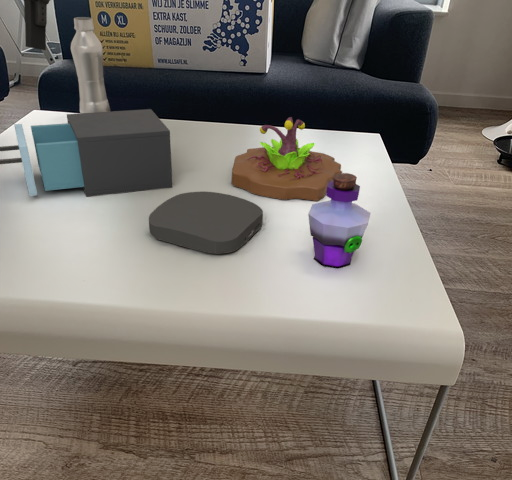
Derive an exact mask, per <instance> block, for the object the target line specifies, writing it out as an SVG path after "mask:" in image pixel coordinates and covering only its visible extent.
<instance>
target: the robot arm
mask: <svg viewBox="0 0 512 480" xmlns="http://www.w3.org/2000/svg"><path fill="white" fill-rule="evenodd" d="M50 1H51V0H23V15H24V16H23V17H24V18H23V19H24V20H23V21H24V31H25V33H24V34H25V35H24V36H25V37H24V38H25V40H24V41H25V48H31V49H35V50H42V51H47V50H46V49H47V42H46V41H47V33H46V32H47V29H46V28H47V23H48V20H47V18H48V17H47V16H48V13H47V11H48V10H47V9H48V8H47V7H48V5H49V3H50Z"/></svg>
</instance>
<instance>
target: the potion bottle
mask: <svg viewBox="0 0 512 480" xmlns="http://www.w3.org/2000/svg"><path fill="white" fill-rule="evenodd" d="M357 178H358V177H357V176H356V175H354V174H352V173H348V172H342V173H339V174H336V175H334V176H333V181H331V182H329V184H328V186H327V193H326V194H325V197H327V198H328V199H329V200H324V201H321V202H315V203H312V204H311V206H310V209H309V211H308V214H307V216H308V224H309V235H310V236H311V237H312V244H313V253H314V256H313V260H314V261H315V262H316V263H318V264H319V265H320V266H321V267H325V268H330V269H338V270H339V269H342V268H346V267H349V266H351V264H352V260H353V257H354V253H355V252H356V251H357V250H359V249H360V247H361V244H363V243H362V242H363V237H364V234H365V232H366V230H367V227H368V225H369V222H370V219H371V218H370V217H371V212H370V211H368V210H367V209H365V208H364V207H361V206H360V205H358V204H357V203H355V202H356V201H358V200H359V199H358V198H359V195H360V190H361V185H359V184H357Z"/></svg>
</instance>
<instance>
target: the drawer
mask: <svg viewBox="0 0 512 480" xmlns="http://www.w3.org/2000/svg"><path fill="white" fill-rule="evenodd" d="M13 125H14V131H15V135H16V141H17V144H16V145H15V144H14V145H5V146H3V145H2V146H0V152H8V151H19V154H20V157H13V158H0V165H8V164H20V163H22V168H23V174H24V178H25V182H26V186H27V190H28V191H27V192H28V196H29V197H34V196H38V191H37V185H36V181H35V177H34V172H33V167H32V162H31V157H30V152H29V148H28V144H27V139H26V135H25V132H24V127H23V124H22V123H15V124H13ZM30 130H31V135H32V139H33V145H34V149H35V154H36V160H37V165H38V169H39V172H40V173H39V174H40V177H41V180H42V184H43V188H44V191H45V192H46V191H47V192H49V191H58V190H65V189H75V188H83V187H84V181H83V175H82V168H81V161H80V155H79V148H78V141H77V139H76V137H75V135H74V132H73V130H72V128H71V126H70V124H69V123H68V122H66V123H51V124H38V125H36V124H35V125H30Z"/></svg>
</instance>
